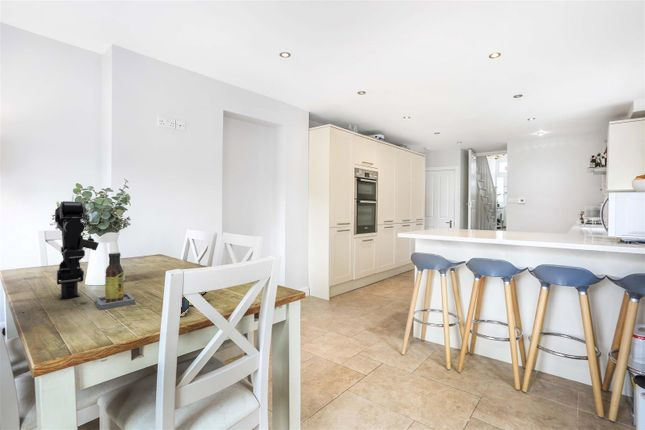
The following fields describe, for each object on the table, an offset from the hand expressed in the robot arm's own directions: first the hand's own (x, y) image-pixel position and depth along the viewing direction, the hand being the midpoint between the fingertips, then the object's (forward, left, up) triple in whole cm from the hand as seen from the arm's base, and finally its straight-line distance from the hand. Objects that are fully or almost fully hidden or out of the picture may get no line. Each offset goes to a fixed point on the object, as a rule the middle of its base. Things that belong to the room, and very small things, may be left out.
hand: (72, 272), depth 126 cm
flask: (+38, +30, -13) cm, 50 cm away
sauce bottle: (+9, +13, -12) cm, 20 cm away
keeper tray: (+9, +13, -13) cm, 20 cm away
